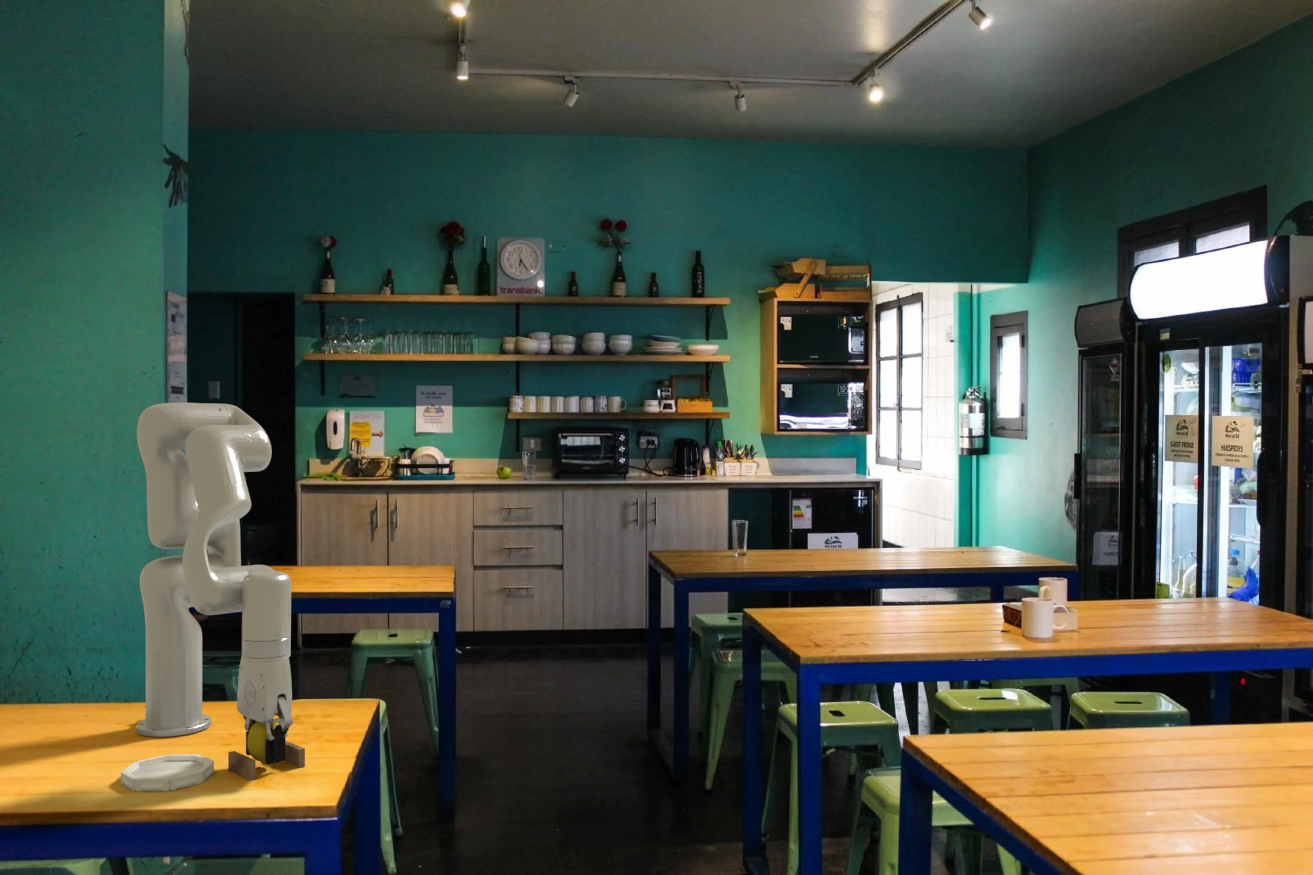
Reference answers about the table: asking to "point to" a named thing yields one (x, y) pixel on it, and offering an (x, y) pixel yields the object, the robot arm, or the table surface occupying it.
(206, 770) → the saucer
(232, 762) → the rack
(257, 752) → the lemon
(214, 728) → the table surface
